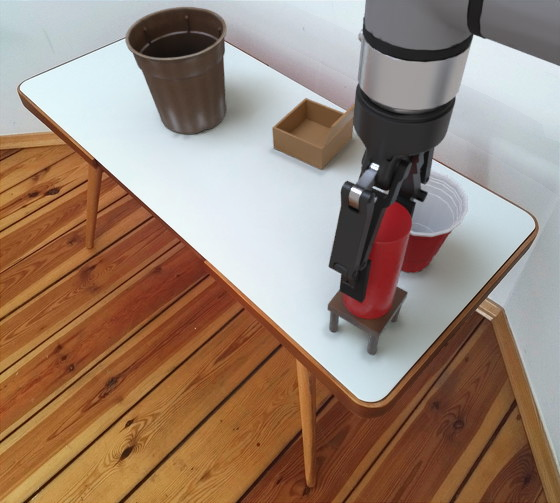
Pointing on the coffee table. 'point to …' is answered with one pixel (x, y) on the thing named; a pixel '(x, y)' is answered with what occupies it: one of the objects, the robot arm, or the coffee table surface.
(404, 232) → the can
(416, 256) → the plastic cup
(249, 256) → the coffee table surface
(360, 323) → the stool
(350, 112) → the flap
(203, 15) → the plant pot
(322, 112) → the carton
